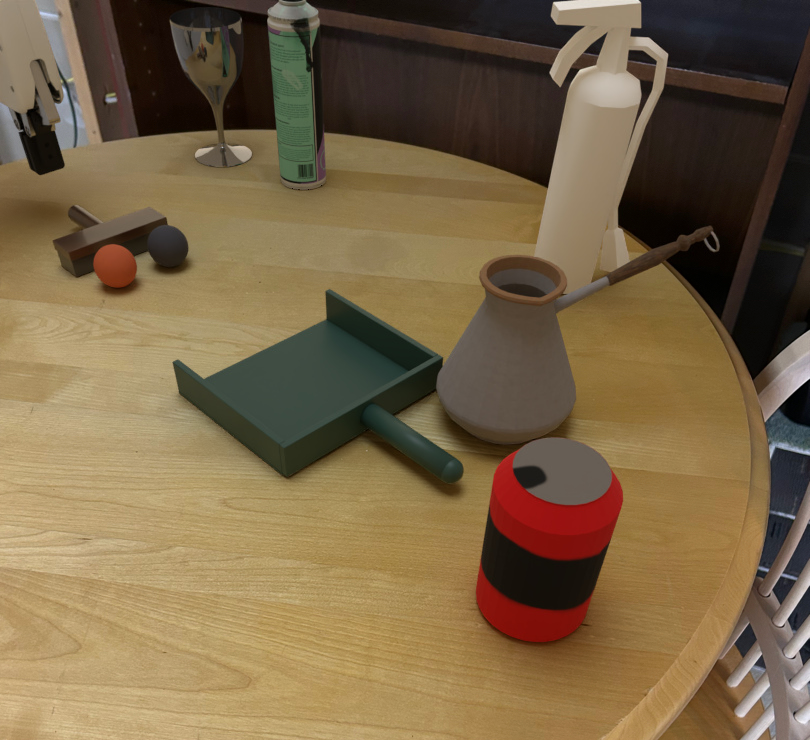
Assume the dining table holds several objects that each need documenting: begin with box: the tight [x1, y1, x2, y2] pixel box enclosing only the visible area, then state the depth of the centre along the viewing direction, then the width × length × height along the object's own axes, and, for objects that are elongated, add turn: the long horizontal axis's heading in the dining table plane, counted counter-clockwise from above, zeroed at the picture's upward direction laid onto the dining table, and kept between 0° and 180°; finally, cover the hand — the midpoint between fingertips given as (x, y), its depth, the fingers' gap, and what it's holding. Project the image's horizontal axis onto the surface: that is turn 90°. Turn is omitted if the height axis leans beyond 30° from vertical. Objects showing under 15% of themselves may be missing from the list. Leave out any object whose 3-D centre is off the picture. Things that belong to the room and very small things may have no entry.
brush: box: [52, 204, 169, 278], centre depth 84 cm, size 9×11×3 cm
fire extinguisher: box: [533, 0, 669, 295], centre depth 74 cm, size 7×12×25 cm, turn 95°
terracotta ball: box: [93, 244, 138, 289], centre depth 78 cm, size 4×4×4 cm
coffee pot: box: [435, 225, 720, 446], centre depth 63 cm, size 21×12×15 cm, turn 107°
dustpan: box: [172, 288, 465, 485], centre depth 66 cm, size 25×17×3 cm
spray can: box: [267, 0, 327, 191], centre depth 90 cm, size 6×6×20 cm
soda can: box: [475, 437, 624, 643], centre depth 50 cm, size 8×8×12 cm
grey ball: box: [147, 224, 189, 268], centre depth 81 cm, size 4×4×4 cm
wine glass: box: [169, 6, 253, 168], centre depth 96 cm, size 8×8×15 cm
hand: (48, 168), depth 86 cm, fingers closed
